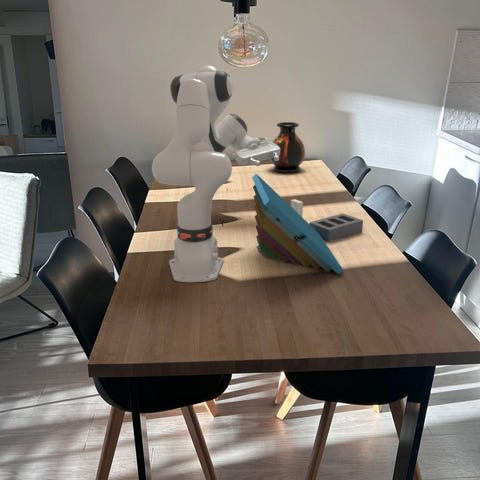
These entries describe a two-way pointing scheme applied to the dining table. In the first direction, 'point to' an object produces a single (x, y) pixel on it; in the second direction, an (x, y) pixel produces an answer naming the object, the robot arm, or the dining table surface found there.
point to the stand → (337, 227)
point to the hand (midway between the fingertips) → (268, 161)
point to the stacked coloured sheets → (288, 232)
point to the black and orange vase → (288, 149)
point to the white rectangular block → (297, 206)
